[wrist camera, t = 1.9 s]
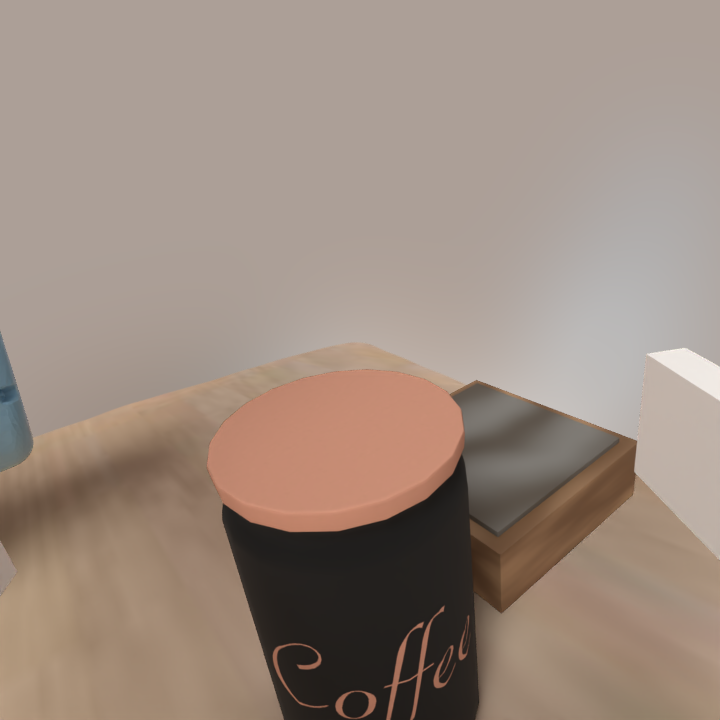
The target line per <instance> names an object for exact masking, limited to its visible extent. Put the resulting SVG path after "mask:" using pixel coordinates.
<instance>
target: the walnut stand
mask: <svg viewBox="0 0 720 720" xmlns="http://www.w3.org/2000/svg"><path fill="white" fill-rule="evenodd" d="M449 395H450V396H451V397H452V399H453V400H454V401H455V402H456V403H457V405H458V406H459V407H460V408H461V410H462V416H463V423H464V431H465V440H464V449H463V451H462V456H463V458H464V461H465V467H466V475H467V483H468V496H469V516H470V536H471V555H472V575H473V591H474V592H475V593H477V594H478V595H479V596H480V597H482V598H483V599H484V600H485V601H487V602H488V603H489V604H490V605H492V606H493V607H494V608H495V609H497V610H498V611H499V612H500V613H502V612H504V611H505V610H506V609H507V608H508V607H509V606H510V605H511V604H512V603H513V602H515V601H516V600H517V599H518V598H519V597H520V596H521V595H522V594H523V593H525V592H526V591H527V590H528V589H529V588H530V587H531V586H532V585H533V584H534V583H536V582H537V581H538V580H539V579H540V578H541V577H542V576H543V575H544V574H546V573H547V572H548V571H549V570H550V569H551V568H552V567H553V566H554V565H556V564H557V563H558V562H559V561H560V560H561V559H562V558H563V557H564V556H565V555H567V554H568V553H569V552H570V551H571V550H572V549H573V548H574V547H575V546H577V545H578V544H579V543H580V542H581V541H582V540H583V539H584V538H585V537H586V536H588V535H589V534H590V533H591V532H592V531H593V530H594V529H595V528H596V527H598V526H599V525H600V524H601V523H602V522H603V521H604V520H605V519H606V518H607V517H609V516H610V515H611V514H612V513H613V512H614V511H615V510H616V509H617V508H619V507H620V506H621V505H622V504H623V503H624V502H625V501H626V500H627V499H628V498H630V497H631V496H632V495H633V491H634V482H635V474H636V473H635V472H634V467H635V458H636V448H637V441H636V440H633V439H631V438H628V437H625V436H622V435H620V434H618V433H615V432H612V431H609V430H607V429H604V428H602V427H599V426H596V425H594V424H591V423H588V422H586V421H583V420H581V419H578V418H575V417H573V416H570V415H567V414H564V413H562V412H559V411H557V410H554V409H551V408H549V407H546V406H543V405H541V404H538V403H536V402H533V401H530V400H528V399H525V398H522V397H520V396H517V395H514V394H512V393H509V392H507V391H504V390H501V389H499V388H496V387H493V386H491V385H488V384H486V383H483V382H480V381H477V380H476V381H474V382H472V383H470V384H468V385H466V386H464V387H462V388H461V389H459V390H457V391H455V392H453V393H451V394H449Z"/></svg>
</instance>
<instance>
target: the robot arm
mask: <svg viewBox="0 0 720 720" xmlns="http://www.w3.org/2000/svg"><path fill="white" fill-rule="evenodd" d="M32 448H33V436H32V433H31V430H30V426H29V423H28V420H27V416H26V413H25V410H24V406H23V403H22V400H21V397H20V393H19V390H18V387H17V384H16V380H15V377H14V374H13V371H12V367H11V364H10V361H9V358H8V355H7V352H6V349H5V345H4V342H3V339H2V335H1V332H0V472H2V471H4V470H7V469H9V468H12V467H14V466H16V465H18V464H20V463H22V462H23V461H24V460H25V459H26V458H27V457H28V456H29V455H30V453H31V451H32ZM634 472H635V473H636V474H637V475H638V476H639V477H640V478H641V479H642V481H643V482H644V483H645V484H646V485H647V486H648V487H649V488H650V489H651V490H652V491H653V492H654V493H655V494H656V495H657V496H658V497H659V498H660V499H661V500H662V501H663V502H664V503H665V504H666V505H667V506H668V507H669V508H670V509H671V510H672V512H673V513H674V514H675V515H676V516H677V517H678V518H679V519H680V520H681V521H682V522H683V523H684V524H685V525H686V526H687V527H688V528H689V529H690V530H691V531H692V532H693V533H694V534H695V535H696V536H697V537H698V538H699V539H700V540H701V542H702V543H703V544H704V545H705V546H706V547H707V548H708V549H709V550H710V551H711V552H712V553H713V554H714V555H715V556H716V557H717V558H718V559H719V560H720V367H719V366H717V365H716V364H714V363H712V362H710V361H708V360H707V359H705V358H703V357H701V356H699V355H697V354H696V353H694V352H692V351H690V350H688V349H687V348H681V349H674V350H668V351H662V352H656V353H649V354H646V362H645V372H644V381H643V391H642V401H641V410H640V420H639V429H638V439H637V448H636V458H635V467H634ZM16 573H17V570H16V568H15V566H14V564H13V563H12V561H11V559H10V557H9V555H8V554H7V552H6V550H5V548H4V546H3V544H2V543H1V541H0V596H1V595H2V593H3V592H4V590H5V589H6V587H7V586H8V585H9V583H10V582H11V580H12V579H13V577H14V576H15V575H16Z"/></svg>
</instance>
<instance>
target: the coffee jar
mask: <svg viewBox="0 0 720 720" xmlns="http://www.w3.org/2000/svg"><path fill="white" fill-rule="evenodd" d="M464 440H465V431H464V423H463V416H462V410H461V408H460V407H459V406H458V405H457V403H456V402H455V401H454V400H453V399H452V397H451V396H450V395H449V394H448V392H447V391H445V390H443V389H442V388H440V387H438V386H436V385H434V384H433V383H431V382H429V381H427V380H425V379H423V378H419V377H415V376H411V375H408V374H404V373H400V372H393V371H381V370H368V369H365V370H351V371H336V372H330V373H326V374H321V375H316V376H311V377H306V378H302V379H299V380H296V381H294V382H291V383H288V384H285V385H282V386H279V387H276V388H274V389H272V390H270V391H268V392H266V393H264V394H262V395H260V396H259V397H257V398H255V399H253V400H251V401H249V402H247V403H246V404H244V405H243V406H242V407H241V408H240V409H238V410H237V411H236V412H235V413H234V414H232V415H231V416H230V417H229V418H228V419H226V420H225V421H224V422H223V424H222V425H221V427H220V428H219V430H218V431H217V433H216V434H215V436H214V437H213V439H212V440H211V442H210V446H209V453H208V461H207V470H208V472H209V474H210V477H211V479H212V481H213V483H214V485H215V487H216V489H217V491H218V493H219V495H220V497H221V499H222V501H223V509H222V520H223V524H224V527H225V530H226V533H227V536H228V540H229V543H230V546H231V549H232V553H233V556H234V559H235V562H236V565H237V569H238V572H239V575H240V578H241V582H242V585H243V588H244V591H245V594H246V598H247V601H248V604H249V607H250V611H251V614H252V617H253V620H254V623H255V627H256V630H257V633H258V636H259V640H260V643H261V646H262V649H263V652H264V656H265V659H266V662H267V665H268V669H269V672H270V675H271V678H272V681H273V685H274V688H275V691H276V694H277V698H278V701H279V704H280V707H281V710H282V714H283V717H284V720H475V717H476V712H477V708H478V704H479V692H478V673H477V653H476V634H475V614H474V594H473V575H472V555H471V536H470V516H469V496H468V483H467V475H466V467H465V461H464V458H463V456H462V451H463V449H464Z"/></svg>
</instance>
